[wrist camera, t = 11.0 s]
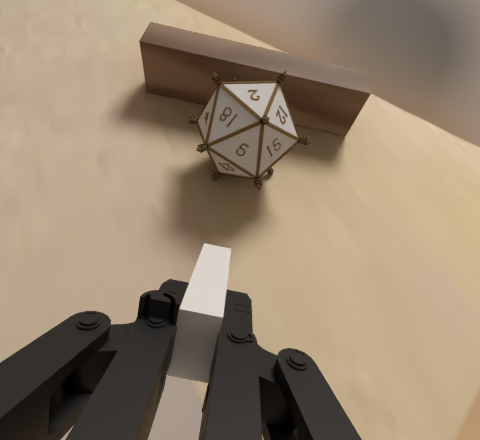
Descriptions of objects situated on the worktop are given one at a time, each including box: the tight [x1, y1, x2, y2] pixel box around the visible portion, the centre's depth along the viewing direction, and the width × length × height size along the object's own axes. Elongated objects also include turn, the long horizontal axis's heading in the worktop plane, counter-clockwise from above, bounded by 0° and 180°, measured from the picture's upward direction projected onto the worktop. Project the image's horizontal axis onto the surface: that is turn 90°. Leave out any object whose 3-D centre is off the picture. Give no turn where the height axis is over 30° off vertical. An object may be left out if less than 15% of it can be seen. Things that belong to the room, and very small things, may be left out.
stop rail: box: [140, 22, 371, 136], centre depth 29 cm, size 3×20×5 cm, turn 81°
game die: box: [187, 70, 311, 190], centre depth 24 cm, size 9×8×10 cm
